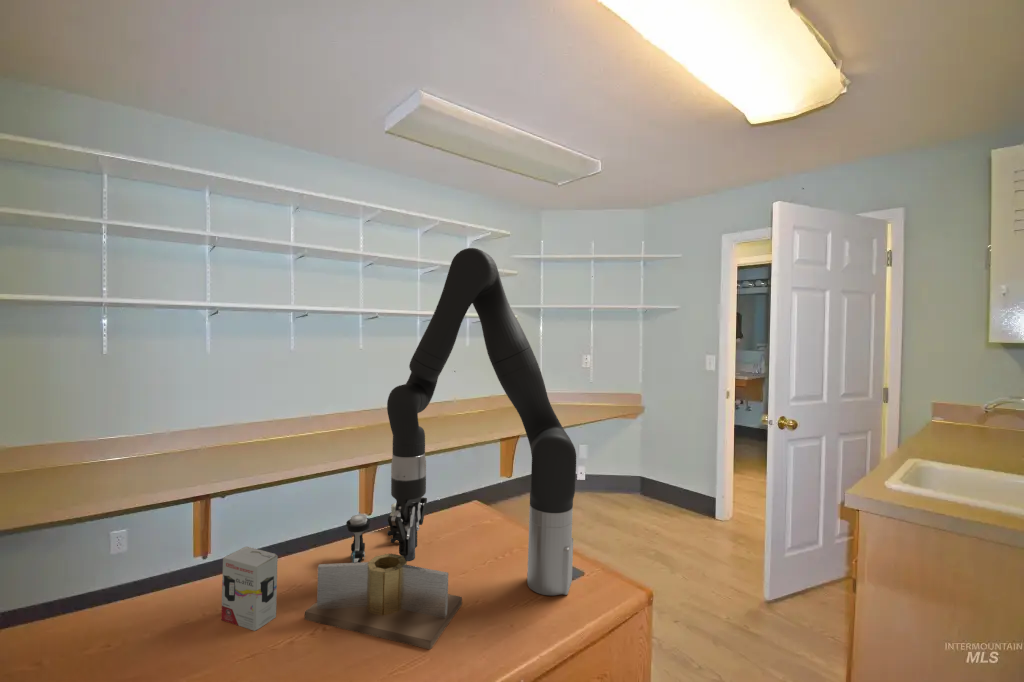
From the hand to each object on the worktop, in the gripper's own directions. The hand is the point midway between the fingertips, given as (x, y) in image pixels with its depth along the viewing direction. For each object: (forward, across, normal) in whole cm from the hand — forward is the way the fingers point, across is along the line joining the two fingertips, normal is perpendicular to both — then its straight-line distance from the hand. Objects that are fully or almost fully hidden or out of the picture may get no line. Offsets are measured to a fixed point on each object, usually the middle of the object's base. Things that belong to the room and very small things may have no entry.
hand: (408, 550), depth 106 cm
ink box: (+5, -24, +19) cm, 32 cm away
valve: (+5, +16, +12) cm, 21 cm away
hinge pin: (+2, 0, 0) cm, 2 cm away
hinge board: (+5, -14, -3) cm, 15 cm away
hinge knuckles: (+3, -15, -4) cm, 16 cm away
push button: (+5, +1, +13) cm, 14 cm away
